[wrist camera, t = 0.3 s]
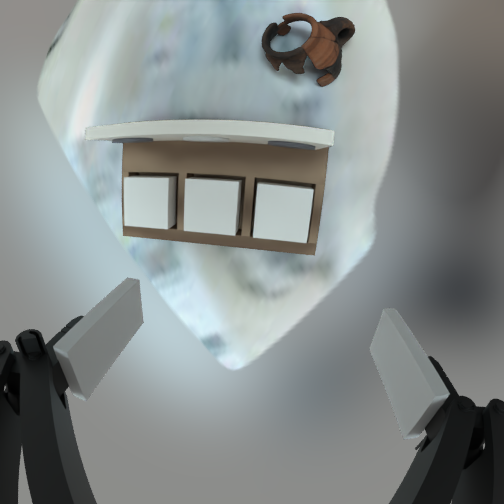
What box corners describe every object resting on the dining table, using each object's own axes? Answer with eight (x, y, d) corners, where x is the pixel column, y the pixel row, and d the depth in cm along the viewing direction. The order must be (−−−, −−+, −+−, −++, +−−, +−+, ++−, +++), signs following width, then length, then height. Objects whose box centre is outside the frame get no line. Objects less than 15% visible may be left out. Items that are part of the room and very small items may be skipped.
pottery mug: (310, 105, 31) (280, 76, 24) (273, 65, 33) (241, 38, 26) (378, 56, 25) (364, 17, 18) (334, 21, 27) (312, -14, 20)
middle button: (192, 177, 32) (185, 178, 29) (241, 180, 31) (238, 181, 29) (190, 225, 34) (183, 230, 31) (238, 229, 33) (235, 235, 31)
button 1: (134, 175, 32) (123, 177, 30) (176, 176, 32) (168, 178, 29) (134, 220, 34) (124, 225, 32) (175, 224, 34) (167, 229, 31)
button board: (138, 125, 33) (124, 122, 29) (324, 133, 32) (330, 129, 28) (136, 228, 38) (123, 235, 34) (310, 245, 37) (314, 255, 33)
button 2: (259, 181, 31) (257, 183, 29) (310, 187, 31) (313, 189, 28) (254, 231, 33) (252, 237, 31) (304, 236, 33) (306, 243, 30)
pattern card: (133, 132, 30) (85, 127, 20) (316, 139, 28) (334, 130, 19) (132, 144, 30) (84, 143, 21) (315, 152, 29) (333, 149, 20)
